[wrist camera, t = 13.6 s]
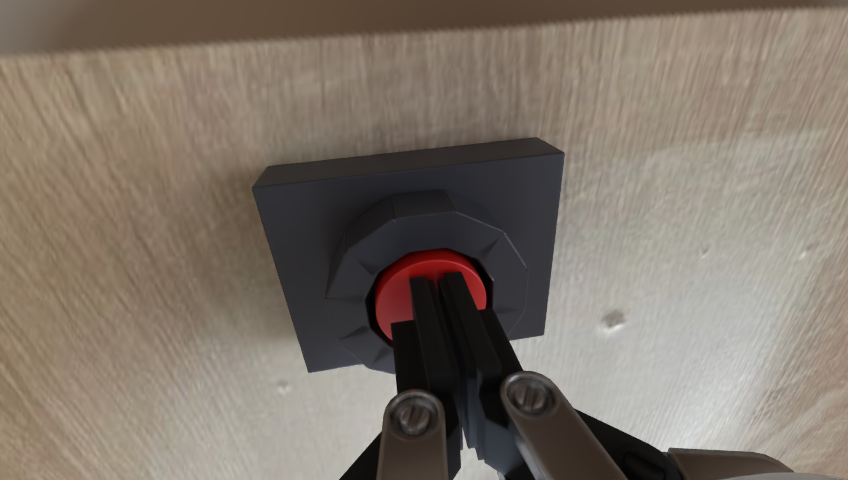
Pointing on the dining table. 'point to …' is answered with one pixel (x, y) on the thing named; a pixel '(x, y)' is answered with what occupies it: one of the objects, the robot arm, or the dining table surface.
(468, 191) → the button box
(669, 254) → the dining table surface
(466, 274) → the button
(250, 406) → the dining table surface
